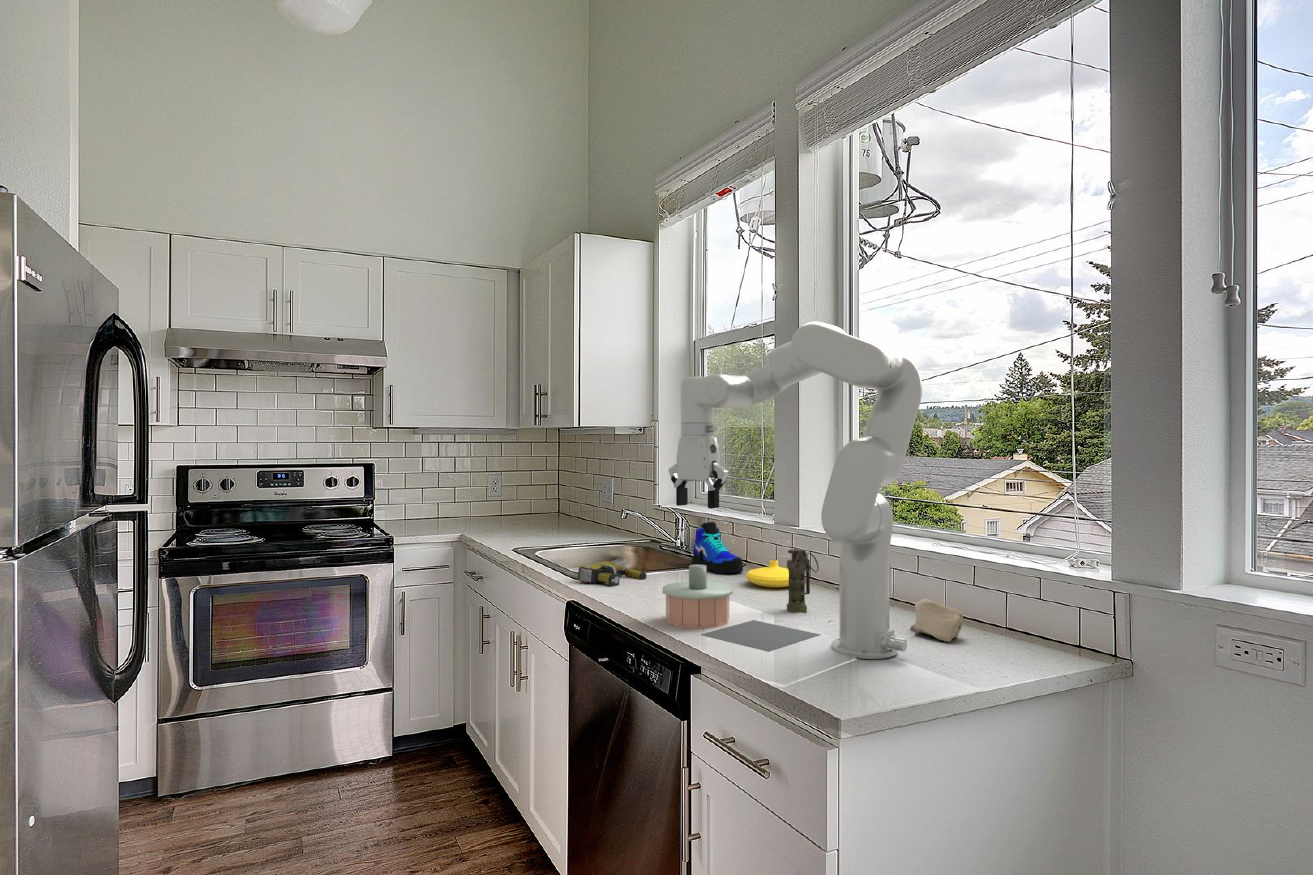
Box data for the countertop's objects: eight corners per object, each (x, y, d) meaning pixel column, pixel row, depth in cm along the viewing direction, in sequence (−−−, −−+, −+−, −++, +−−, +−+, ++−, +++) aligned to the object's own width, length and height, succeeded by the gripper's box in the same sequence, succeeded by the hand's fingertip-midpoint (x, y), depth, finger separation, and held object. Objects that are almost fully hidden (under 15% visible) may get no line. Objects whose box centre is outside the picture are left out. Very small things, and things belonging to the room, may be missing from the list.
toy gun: (660, 565, 239) (617, 557, 245) (622, 574, 217) (576, 565, 223) (658, 580, 239) (615, 572, 245) (620, 591, 217) (574, 582, 223)
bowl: (741, 622, 177) (741, 591, 177) (699, 633, 167) (699, 600, 167) (695, 612, 187) (695, 583, 187) (654, 622, 177) (654, 591, 177)
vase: (805, 582, 225) (805, 557, 225) (798, 592, 210) (798, 566, 210) (751, 579, 230) (751, 555, 230) (740, 589, 215) (740, 563, 215)
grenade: (795, 616, 182) (795, 552, 182) (779, 611, 187) (779, 549, 187) (824, 612, 187) (824, 549, 186) (808, 607, 192) (808, 546, 192)
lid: (747, 591, 177) (747, 565, 177) (700, 602, 166) (700, 575, 166) (695, 581, 189) (695, 557, 189) (647, 591, 177) (647, 566, 177)
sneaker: (723, 577, 233) (723, 527, 233) (685, 565, 254) (685, 519, 254) (749, 575, 237) (749, 525, 237) (710, 563, 258) (710, 518, 258)
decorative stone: (919, 627, 173) (919, 595, 173) (969, 639, 162) (969, 605, 162) (897, 631, 169) (897, 599, 169) (948, 645, 158) (948, 609, 158)
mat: (820, 636, 164) (820, 634, 164) (768, 653, 152) (768, 651, 152) (753, 622, 177) (753, 619, 177) (700, 636, 165) (700, 634, 165)
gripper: (737, 431, 174) (737, 508, 174) (681, 431, 186) (681, 503, 186) (715, 431, 168) (715, 510, 168) (658, 431, 181) (658, 505, 181)
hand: (697, 506), depth 177 cm, fingers open, 9 cm apart
